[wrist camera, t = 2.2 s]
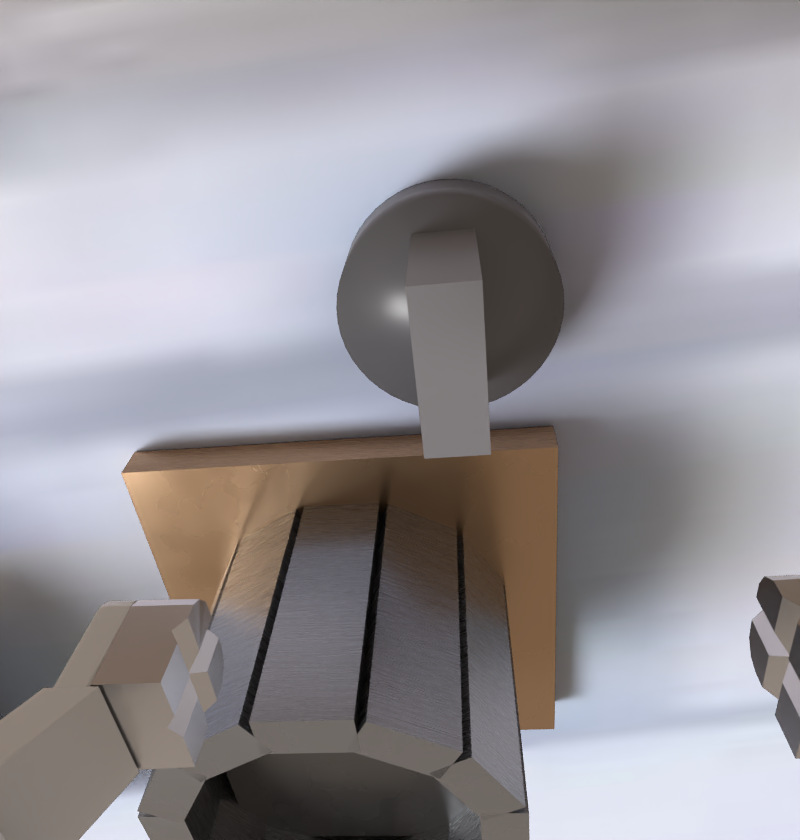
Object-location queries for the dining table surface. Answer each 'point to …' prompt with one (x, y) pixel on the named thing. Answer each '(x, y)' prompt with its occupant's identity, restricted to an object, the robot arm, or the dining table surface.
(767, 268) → the dining table surface
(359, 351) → the rotary knob
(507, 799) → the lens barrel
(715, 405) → the dining table surface
